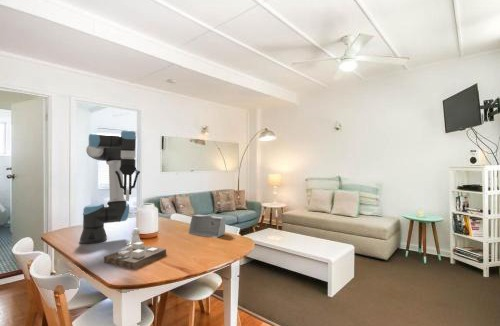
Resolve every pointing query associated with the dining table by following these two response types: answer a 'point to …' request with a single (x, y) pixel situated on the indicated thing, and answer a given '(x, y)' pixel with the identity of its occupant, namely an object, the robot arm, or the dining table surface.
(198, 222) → the grey rectangular block
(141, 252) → the button
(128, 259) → the board
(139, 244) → the button
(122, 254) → the button
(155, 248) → the button
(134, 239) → the seated beast figurine
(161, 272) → the dining table surface
